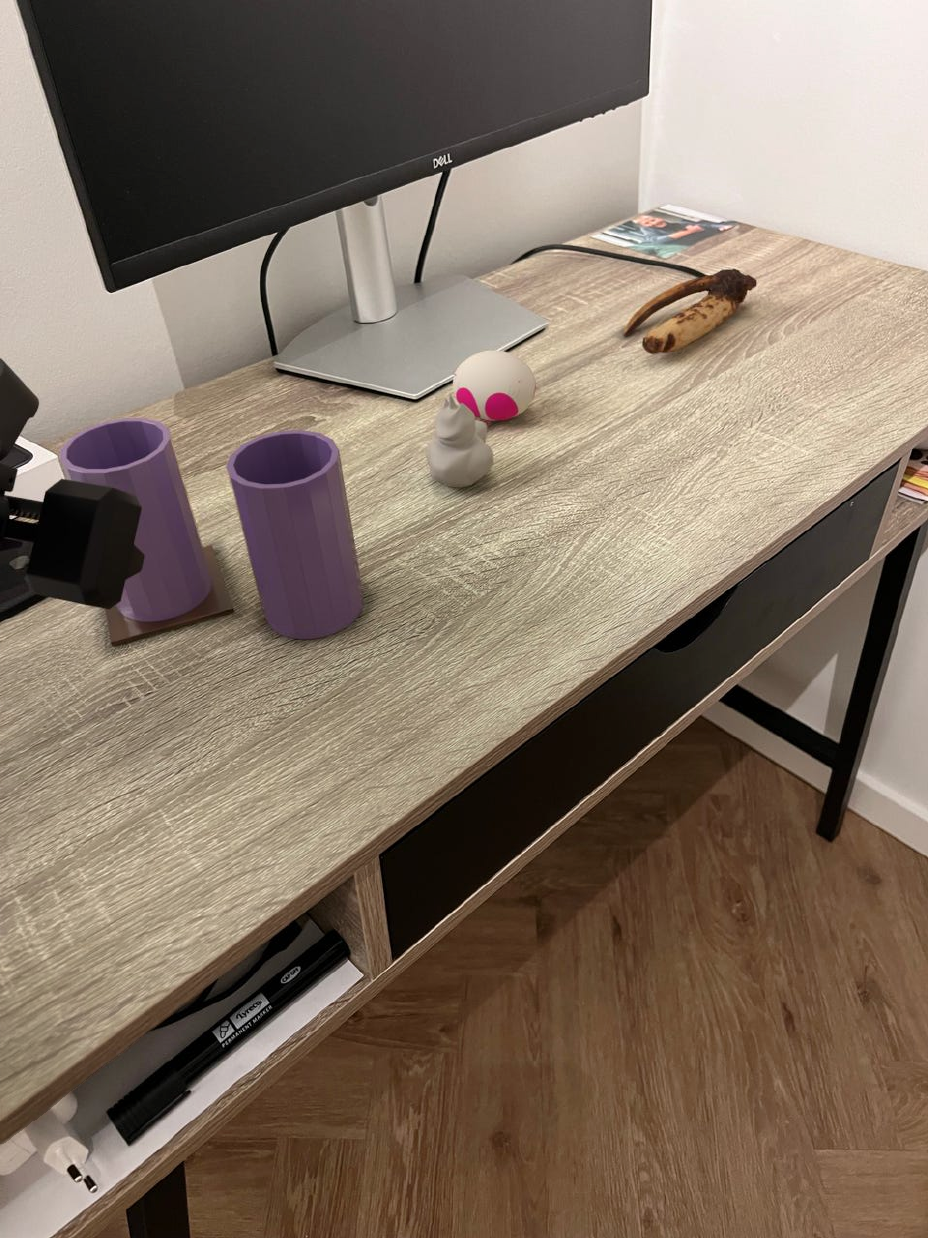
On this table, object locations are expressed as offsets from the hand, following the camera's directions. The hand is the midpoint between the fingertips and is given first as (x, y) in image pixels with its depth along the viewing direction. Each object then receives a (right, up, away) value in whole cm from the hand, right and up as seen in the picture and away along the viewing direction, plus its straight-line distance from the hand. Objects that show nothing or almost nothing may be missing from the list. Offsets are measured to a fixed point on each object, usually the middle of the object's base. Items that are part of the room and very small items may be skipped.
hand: (80, 550), depth 61 cm
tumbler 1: (+3, -2, +9) cm, 10 cm away
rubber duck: (+24, +7, +19) cm, 31 cm away
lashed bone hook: (+46, +25, +38) cm, 65 cm away
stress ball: (+27, +14, +26) cm, 40 cm away
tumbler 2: (+14, -3, +7) cm, 16 cm away
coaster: (+3, -3, +9) cm, 10 cm away
